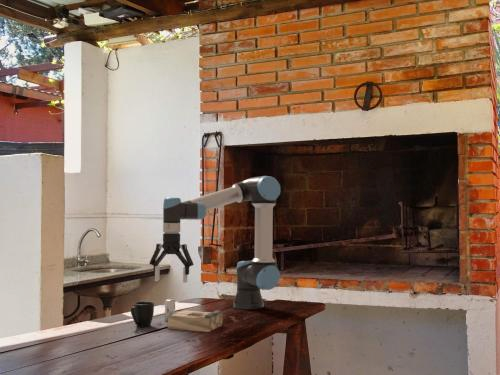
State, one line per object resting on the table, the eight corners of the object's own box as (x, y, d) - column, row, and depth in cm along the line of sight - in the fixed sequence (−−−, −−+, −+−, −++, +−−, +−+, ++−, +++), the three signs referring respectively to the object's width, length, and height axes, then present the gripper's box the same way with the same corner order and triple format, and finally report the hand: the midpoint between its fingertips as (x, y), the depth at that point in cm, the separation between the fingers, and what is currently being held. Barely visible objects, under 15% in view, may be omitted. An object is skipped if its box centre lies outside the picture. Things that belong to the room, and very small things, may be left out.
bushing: (167, 319, 245) (168, 298, 245) (176, 320, 243) (176, 299, 244) (163, 321, 241) (163, 300, 241) (172, 322, 239) (172, 300, 240)
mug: (123, 328, 225) (123, 304, 226) (142, 323, 236) (142, 300, 236) (139, 330, 221) (139, 306, 222) (157, 325, 232) (157, 302, 232)
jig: (183, 322, 239) (183, 307, 239) (222, 325, 233) (222, 310, 233) (167, 328, 226) (167, 313, 226) (208, 331, 219) (208, 315, 220)
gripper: (142, 232, 244) (141, 281, 243) (193, 233, 236) (193, 284, 235) (150, 232, 251) (150, 279, 250) (201, 233, 243) (200, 282, 242)
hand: (171, 281), depth 242 cm, fingers open, 13 cm apart
